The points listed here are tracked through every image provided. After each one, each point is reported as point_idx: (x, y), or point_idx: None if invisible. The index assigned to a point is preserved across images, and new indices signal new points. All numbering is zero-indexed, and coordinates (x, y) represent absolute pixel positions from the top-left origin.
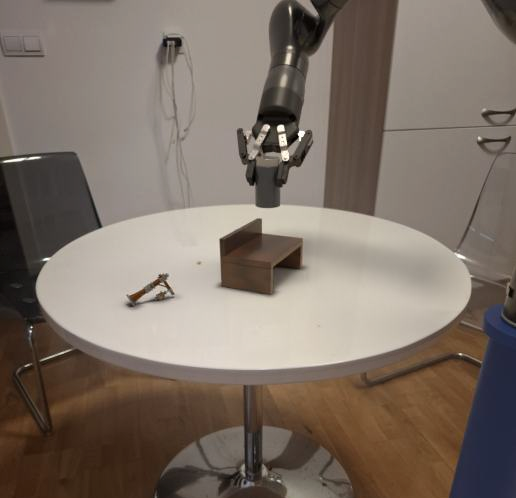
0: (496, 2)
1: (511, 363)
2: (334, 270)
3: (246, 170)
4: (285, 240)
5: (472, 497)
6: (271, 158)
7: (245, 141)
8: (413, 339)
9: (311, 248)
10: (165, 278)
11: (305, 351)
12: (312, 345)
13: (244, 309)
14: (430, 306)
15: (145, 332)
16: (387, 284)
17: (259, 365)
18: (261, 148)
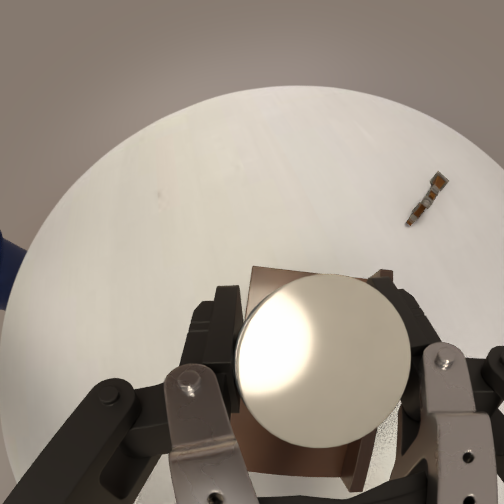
0: None
1: (5, 239)
2: None
3: (423, 314)
4: (263, 441)
5: None
6: (287, 327)
7: None
8: (60, 201)
9: None
10: (423, 199)
11: (170, 134)
12: (164, 148)
13: (279, 212)
14: (30, 301)
15: (368, 124)
16: (73, 379)
17: (214, 100)
18: (420, 452)
